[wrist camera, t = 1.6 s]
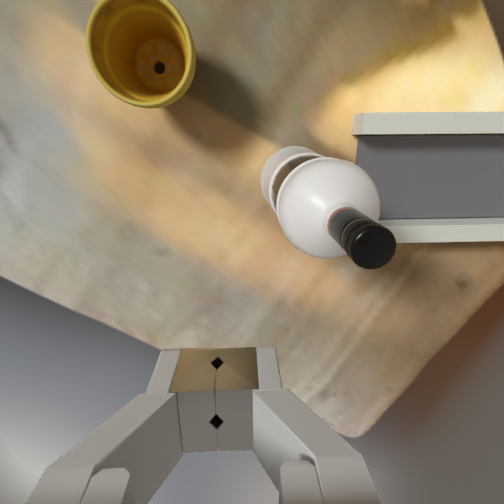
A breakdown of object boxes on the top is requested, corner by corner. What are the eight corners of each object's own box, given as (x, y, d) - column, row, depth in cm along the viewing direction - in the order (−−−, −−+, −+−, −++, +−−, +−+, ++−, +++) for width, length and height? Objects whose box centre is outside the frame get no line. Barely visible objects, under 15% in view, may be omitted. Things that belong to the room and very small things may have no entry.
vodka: (277, 133, 44) (347, 130, 15) (336, 163, 45) (495, 209, 17) (248, 195, 46) (263, 288, 18) (305, 221, 48) (398, 343, 20)
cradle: (353, 114, 43) (367, 112, 38) (572, 113, 44) (612, 110, 39) (342, 235, 49) (353, 246, 44) (536, 232, 50) (566, 242, 45)
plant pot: (168, 130, 43) (149, 129, 34) (103, 70, 40) (63, 51, 31) (220, 66, 41) (214, 47, 31) (154, -2, 38) (126, -46, 29)
